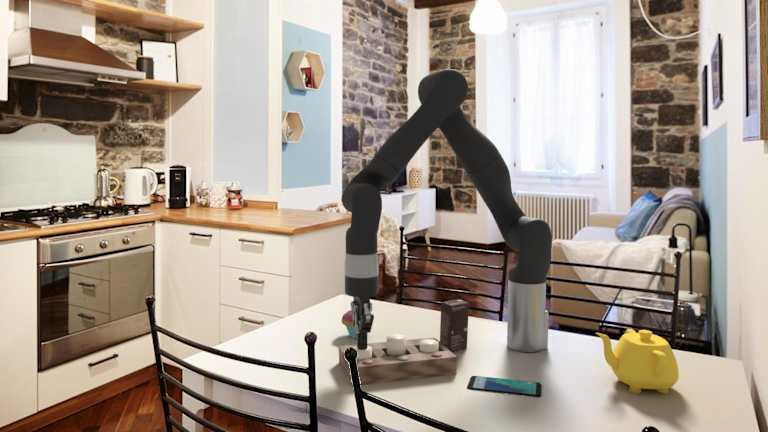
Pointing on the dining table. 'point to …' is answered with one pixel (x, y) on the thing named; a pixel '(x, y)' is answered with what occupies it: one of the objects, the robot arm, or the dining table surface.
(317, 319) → the dining table surface
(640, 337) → the teapot
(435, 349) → the button
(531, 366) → the dining table surface
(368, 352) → the button
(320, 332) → the dining table surface
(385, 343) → the board
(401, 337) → the button
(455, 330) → the box
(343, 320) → the cupcake
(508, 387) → the smartphone
